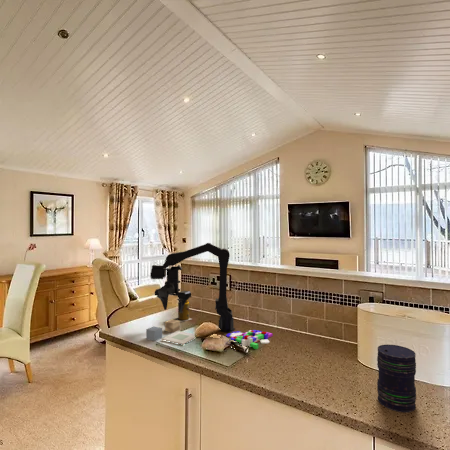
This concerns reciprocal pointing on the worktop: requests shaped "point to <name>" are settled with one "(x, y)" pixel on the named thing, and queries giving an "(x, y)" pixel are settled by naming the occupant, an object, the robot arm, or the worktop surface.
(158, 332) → the slate block
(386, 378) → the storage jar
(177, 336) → the plate
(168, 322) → the oak block
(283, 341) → the worktop surface
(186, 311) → the condiment
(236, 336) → the building block set
